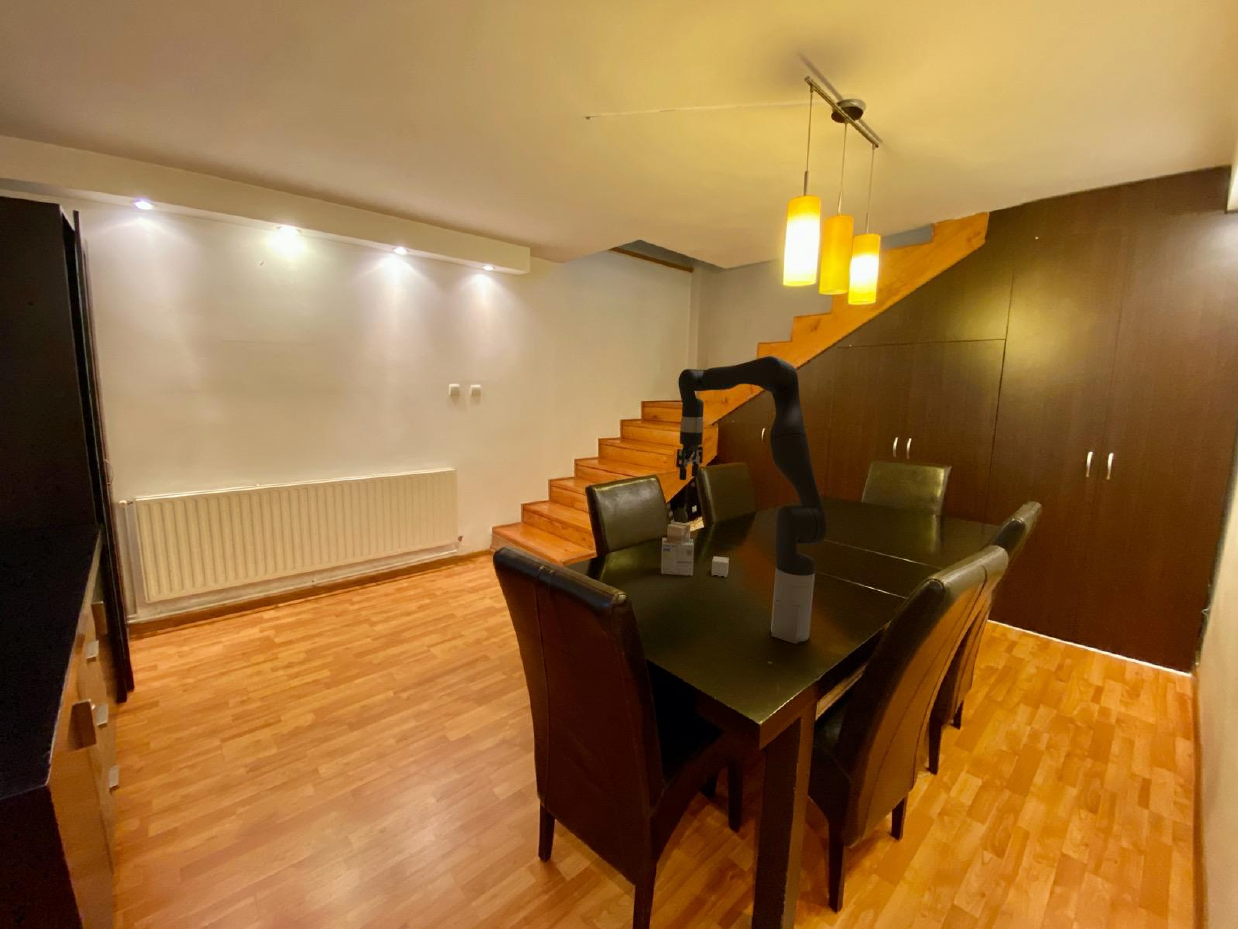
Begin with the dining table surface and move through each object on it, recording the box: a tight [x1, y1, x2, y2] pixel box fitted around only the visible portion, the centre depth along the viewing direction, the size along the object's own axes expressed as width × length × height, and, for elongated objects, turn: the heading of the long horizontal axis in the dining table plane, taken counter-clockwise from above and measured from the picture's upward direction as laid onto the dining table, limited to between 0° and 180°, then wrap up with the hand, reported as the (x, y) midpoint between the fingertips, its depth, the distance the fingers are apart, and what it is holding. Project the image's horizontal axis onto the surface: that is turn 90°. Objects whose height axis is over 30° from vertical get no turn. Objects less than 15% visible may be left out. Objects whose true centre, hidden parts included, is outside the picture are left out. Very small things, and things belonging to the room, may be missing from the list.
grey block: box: [711, 556, 730, 578], centre depth 166 cm, size 5×5×5 cm
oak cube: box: [666, 521, 691, 545], centre depth 165 cm, size 6×6×6 cm
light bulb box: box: [660, 537, 695, 577], centre depth 166 cm, size 11×7×11 cm, turn 84°
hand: (688, 478), depth 168 cm, fingers open, 8 cm apart
